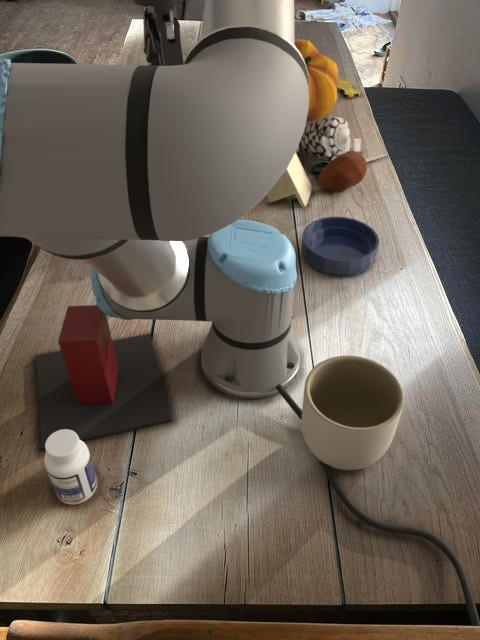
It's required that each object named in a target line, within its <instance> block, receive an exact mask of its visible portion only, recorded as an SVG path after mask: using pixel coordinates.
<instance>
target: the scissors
mask: <svg viewBox="0 0 480 640" xmlns="http://www.w3.org/2000/svg"><path fill="white" fill-rule="evenodd" d="M387 155H388V154H387V153H383V154H378V155H372V156H368V157H364V158H365V160H366V163H369V162H372V161H375V160H378V159H381V158H383V157H386V156H387ZM328 163H329V162H328V161H322V162H319V163H316V164H315V165H313V167H312V168H311V174H313V175H314V176H315V175H316V176H317V178H319V175H320V173H321V171H322V170H323V169H324V167H325V166H326V165H327V164H328ZM322 167H323V168H322ZM319 168H321V169H320V170H319ZM317 169H318V170H317Z"/></svg>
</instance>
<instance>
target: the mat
mask: <svg viewBox="0 0 480 640" xmlns="http://www.w3.org/2000/svg"><path fill="white" fill-rule="evenodd" d="M112 342H113V346H114V350H115V355H116V359H117V363H118V367H119V370H118V376H117V382H116V388H115V394H114V400H113V404H103V405H78V402H77V399H76V396H75V393H74V390H73V387H72V384H71V381H70V377H69V374H68V371H67V368H66V365H65V362H64V359H63V356H62V352H61V350H58V351H53V352H46V353H41V354H37V355H35V362H36V363H35V364H36V378H37V379H36V381H37V396H38V397H37V398H38V413H39V414H38V415H39V428H40V445H41V447H40V448H41V450H42V451H46V449H45V443H46V441H47V439H48V437H49V436H50V435H51V434H53V433H54V432H56V431H58V430H63V429H68V430H72V431H74V432H75V433H76V434H77V435H78V437H79V440H81V441H83V442H86V441H90V440H95V439H100V438H104V437H105V438H106V437H109V436H113V435H118V434H123V433H127V432H132V431H136V430H141V429H145V428H149V427H155V426H157V425H162V424H167V423H171V422H173V416H172V413H171V409H170V406H169V401H168V397H167V394H166V390H165V389H166V388H165V385H164V381H163V378H162V375H161V370H160V366H159V363H158V359H157V355H156V351H155V347H154V342H153V339H152V336H151V333H147V334H140V335H137V336H129V337H125V338H120V339H115V340H112Z"/></svg>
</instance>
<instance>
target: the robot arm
mask: <svg viewBox="0 0 480 640" xmlns="http://www.w3.org/2000/svg"><path fill="white" fill-rule="evenodd" d="M131 1H132V2H133V3H134V4H136V5H139V6H142V16H143V17H142V19H143V20H142V21H143V23H142V25H143V53H144V55H146V56H145V61H146V62H147V65H141V64H101V63H100V64H97V63H96V64H91V63H89V64H88V63H38V62H37V63H34V62H33V63H32V62H12V59H10V58H5V59H2V60H1V61H0V237H13V238H14V237H15V238H23V239H26V240H27V241H29V242H30V243H32V244H33V245H35V246H37V248H39V249H41V250H42V251H44V252H46V253H48V254H50V255H53V256H54V257H58V258H61V259H64V260H65V259H66V260H72V261H84V262H85V263H86V264H87V265H88V266H90V283H91V290H92V294H93V296H94V297H95V303H96V305H98V307H99V308H100V310H101V311H102V312H103V313H104V314H106V316H107V317H110V318H113V319H114V318H116V319H120V320H125V321H133V320H151V321H153V320H154V321H155V320H156V321H188V322H190V321H192V322H211V325H210V327H209V330H208V333H207V334H206V337H205V339H204V342H203V344H202V349H201V354H200V361H201V369H202V372H203V375H204V377H205V379H206V380H207V381H208V383H209V384H211V386H213V388H215V389H217V391H220V392H221V393H223V394H225V395H227V396H230V397H232V398H233V397H234V398H238V399H243V400H259V399H265V398H269V397H272V396H275V395H277V394H280V395H281V397H282V398H283V399H284V401H285V402H286V403H287V405H288V406H289V407H290V409H291V410H292V411H293V412H294V413H295V414H296V416H297V417H298V418H299V419H300V421H302V408H301V407H299V405H298V404H297V403H296V402H295V400H294V399H293V397H292V396H291V395H290V394H289V392H288V391H287V390H286V389H288V388H289V386H291V385H292V384H293V382H295V380H296V378H297V376H298V374H299V370H300V366H301V365H300V364H301V352H300V346H299V343H298V341H297V339H296V336H295V332H294V330H293V327H292V317H293V304H294V291H295V290H294V288H295V284H296V283H297V277H298V272H297V269H296V266H297V265H296V264H297V263H296V262H297V261H296V259H297V257H296V250H295V247H294V245H293V243H292V242H291V241H290V239H289V238H287V236H286V235H285V234H283V233H281V232H280V231H279V230H278V229H276V228H275V227H273V226H272V225H269V224H266V223H263V222H261V221H255V220H248V219H242V218H243V217H244V216H245V215H247V213H249V212H251V210H253V209H254V208H255V207H256V206H257V205H259V204H260V203H261V201H263V200H264V199H265V197H267V193H268V192H269V191H270V190H271V189H272V188H273V187H274V185H275V184H276V183H277V181H278V180H279V179H280V177H281V176H282V175H283V173H284V172H285V171H286V169H287V167H288V165H289V163H290V162H291V160H292V158H293V156H294V154H295V152H296V150H297V148H298V145H299V143H300V140H301V138H302V135H303V133H304V130H305V125H306V124H307V122H306V120H307V114H308V108H309V78H308V71H307V67H306V64H305V61H304V59H303V57H302V55H301V53H300V52H299V51H298V49H297V48H296V47H295V46H294V40H295V0H204V5H203V13H202V22H201V30H200V37H199V40H198V41H197V42H196V43H194V45H193V46H192V48H190V50H189V52H188V53H187V55H186V56H185V60H184V55H183V48H182V40H181V23H180V21H179V20H178V17H177V16H175V14H174V11H173V7H174V6H175V5H178V4H181V3H183V2H184V1H185V0H131ZM208 235H209V236H208ZM318 460H319V459H318ZM319 463H320V465H321V468H322V470H323V472H324V473H325V475H326V478H327V479H328V481H329V483H330V484H331V486H332V487H333V489H334V491H335V493H336V495H337V496H338V498H339V499H340V501H341V502H342V503H343V505H344V506H345V507H346V508H347V509H348V510H349V512H350V513H352V514H353V515H354V516H355V517H356V518H357V519H359V520H360V521H362V522H363V523H365V524H366V525H368V526H370V527H372V528H375V529H378V530H380V531H385V532H388V533H396V534H405V535H412V536H416V537H420V538H422V539H425V540H427V541H429V542H431V543H432V544H433V545H435V546H436V547H438V548H439V550H440V551H442V552H443V554H444V555H445V556H446V557H447V558H448V560H449V561H450V563H451V564H452V566H453V568H454V570H455V572H456V574H457V577H458V580H459V584H460V586H461V591H462V594H463V598H464V602H465V606H466V610H467V612H468V617H469V620H470V624H471V625H472V626H473V627H474V626H480V616H479V614H478V610H477V607H476V603H475V599H474V596H473V592H472V591H473V590H472V588H471V584H470V581H469V578H468V576H467V572H466V570H465V568H464V566H463V564H462V562H461V560H460V558H459V556H458V555H457V554H456V553H455V551H454V550H453V548H451V547H450V545H448V543H446V542H445V540H443V539H442V538H441V537H439V536H438V535H436V534H435V533H433V532H431V531H429V530H426V529H424V528H421V527H418V526H417V527H416V526H411V525H404V524H397V523H396V524H395V523H389V522H385V521H381V520H378V519H376V518H374V517H372V516H370V515H368V514H367V513H366V512H364V511H363V510H362V509H361V508H359V507H358V506H357V505H356V504H355V503H354V502H353V501H352V500H351V498H350V497H349V496H348V494H347V493H346V492H345V490H344V488H343V487H342V485H341V483H340V482H339V479H338V478H337V476H336V475H335V473H334V471H333V470H332V467H331V466H329V465H327V464H325V463H324V462H322V461H321V460H319Z"/></svg>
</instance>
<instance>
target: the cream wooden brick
mask: <svg viewBox="0 0 480 640" xmlns="http://www.w3.org/2000/svg"><path fill="white" fill-rule="evenodd" d="M312 191H313V188H312V184H311V181H310V179H309V177H308V175H307V173H306V171H305V169H304V167H303V165H302V163H301V161H300V158H299V157H298V153H296V152H295V154H294V156H293V158H292V160H291V162H290V163H289V165H288V167H287V169H286V171H285V172H284V173H283V175H282V176H281V177H280V179H279V180H278V181H277V183H276V184H275V185H274V187H273V188H272V189H271V190H270V191H269V192H268V193H267V195H266V200H267V202H268V203H270V204H271V203H273V202H277V201H279V200H281V199H285V198H287V199H289V200H292V199H295V198H296V199H297V201H298V203H299V205H300V207H302V208H303V207H306V206H307V205H308V203H309V199H310V196H311V193H312Z"/></svg>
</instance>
